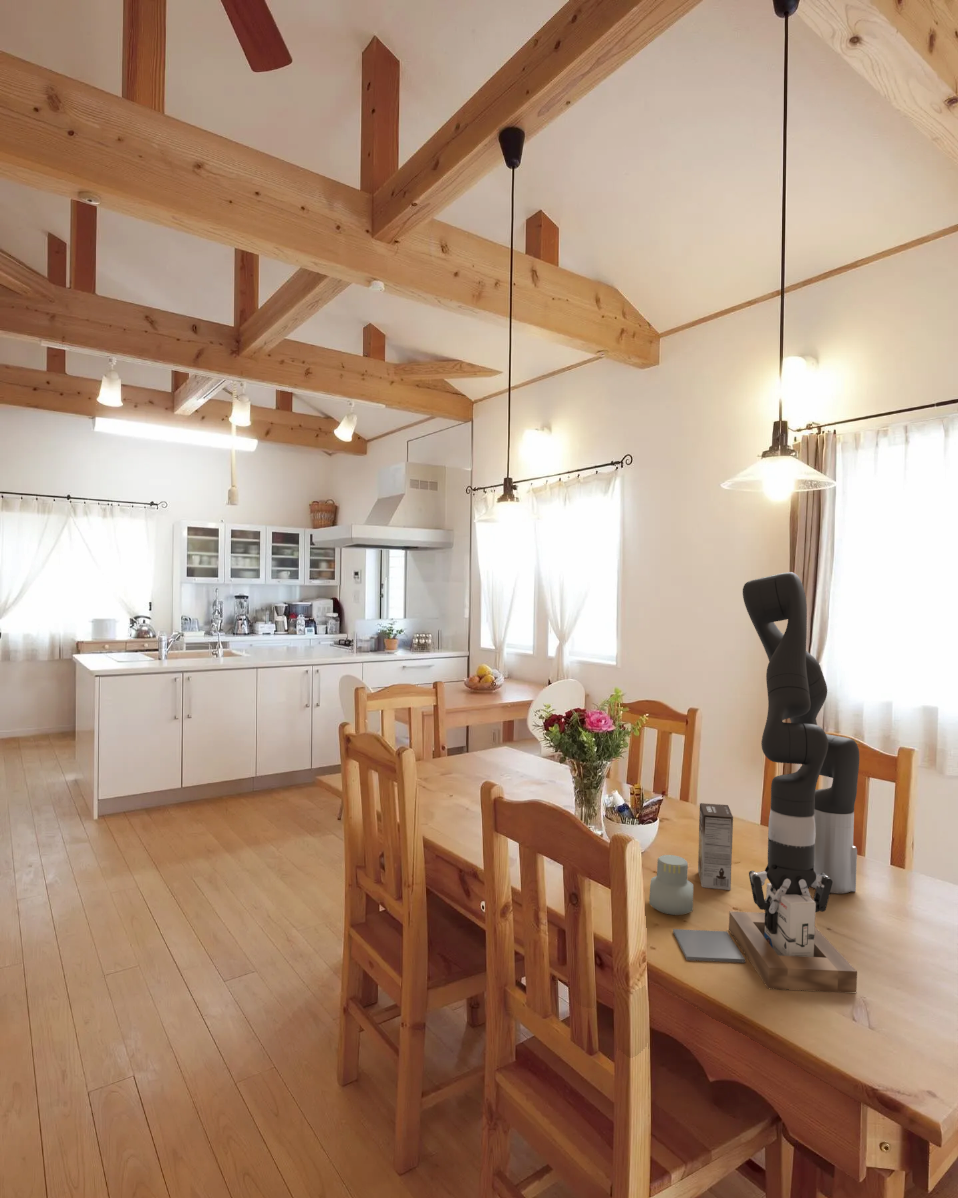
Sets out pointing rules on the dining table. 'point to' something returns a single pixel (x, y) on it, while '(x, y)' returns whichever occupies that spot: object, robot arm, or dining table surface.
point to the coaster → (708, 945)
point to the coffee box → (715, 846)
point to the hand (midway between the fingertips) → (788, 932)
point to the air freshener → (671, 886)
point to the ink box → (793, 926)
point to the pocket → (792, 959)
